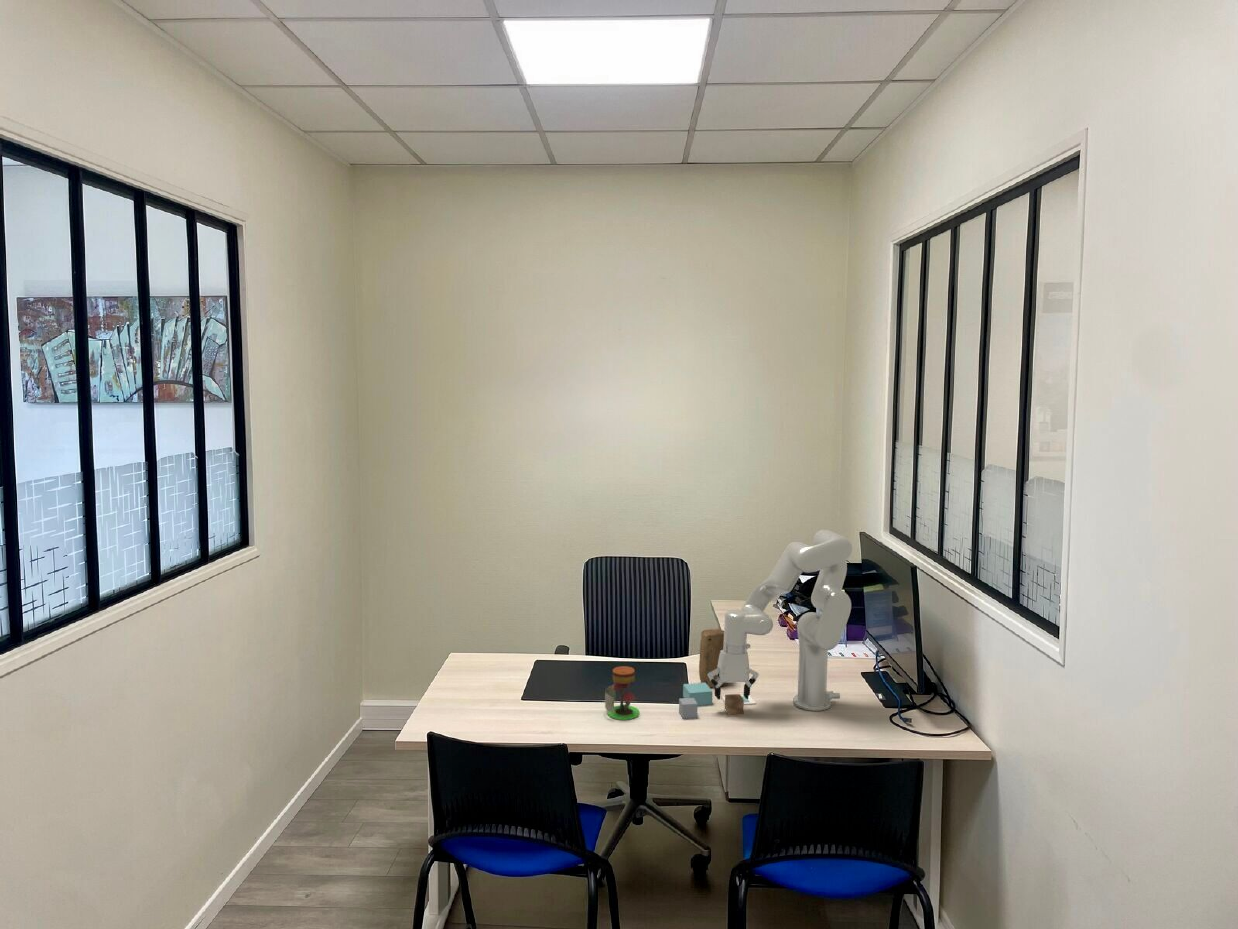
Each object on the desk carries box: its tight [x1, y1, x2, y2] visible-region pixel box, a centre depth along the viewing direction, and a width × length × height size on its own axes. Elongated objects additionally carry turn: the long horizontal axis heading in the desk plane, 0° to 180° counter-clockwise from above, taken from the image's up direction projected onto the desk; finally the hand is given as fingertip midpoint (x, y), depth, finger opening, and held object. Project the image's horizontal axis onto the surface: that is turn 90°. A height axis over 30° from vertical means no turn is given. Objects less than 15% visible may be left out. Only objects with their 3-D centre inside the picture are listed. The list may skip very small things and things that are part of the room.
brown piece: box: [698, 628, 729, 689], centre depth 299 cm, size 11×8×20 cm
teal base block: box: [682, 682, 713, 707], centre depth 285 cm, size 8×8×5 cm
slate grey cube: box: [678, 697, 699, 720], centre depth 273 cm, size 5×5×5 cm
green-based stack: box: [604, 665, 640, 721], centre depth 274 cm, size 12×13×15 cm
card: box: [721, 694, 757, 706], centre depth 285 cm, size 10×7×1 cm
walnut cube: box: [724, 693, 745, 716], centre depth 277 cm, size 5×5×5 cm
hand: (731, 697), depth 276 cm, fingers open, 9 cm apart
